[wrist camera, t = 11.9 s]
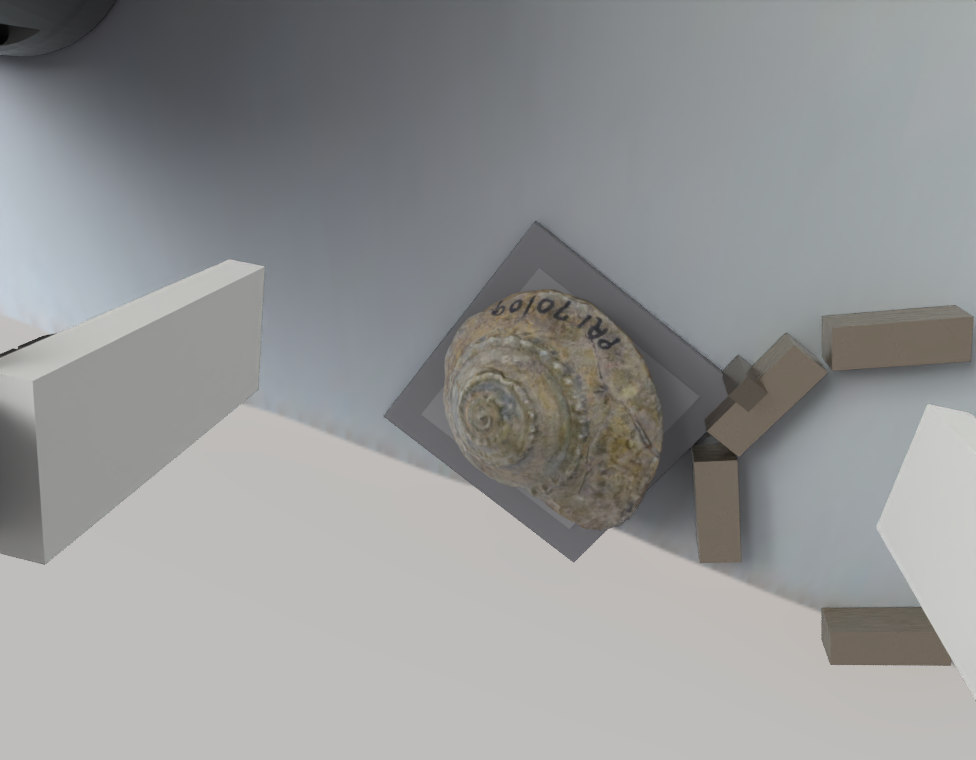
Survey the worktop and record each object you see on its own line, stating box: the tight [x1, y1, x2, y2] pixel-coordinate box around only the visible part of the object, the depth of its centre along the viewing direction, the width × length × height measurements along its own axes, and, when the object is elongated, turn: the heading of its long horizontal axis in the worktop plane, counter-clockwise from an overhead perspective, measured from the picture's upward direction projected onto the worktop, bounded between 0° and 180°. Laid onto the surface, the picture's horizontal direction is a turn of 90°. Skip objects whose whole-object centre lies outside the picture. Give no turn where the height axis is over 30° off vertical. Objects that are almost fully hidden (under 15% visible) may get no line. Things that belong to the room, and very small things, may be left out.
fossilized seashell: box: [443, 289, 663, 531], centre depth 37 cm, size 11×11×7 cm
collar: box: [691, 305, 973, 666], centre depth 36 cm, size 20×17×3 cm
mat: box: [384, 221, 728, 562], centre depth 39 cm, size 13×13×1 cm
